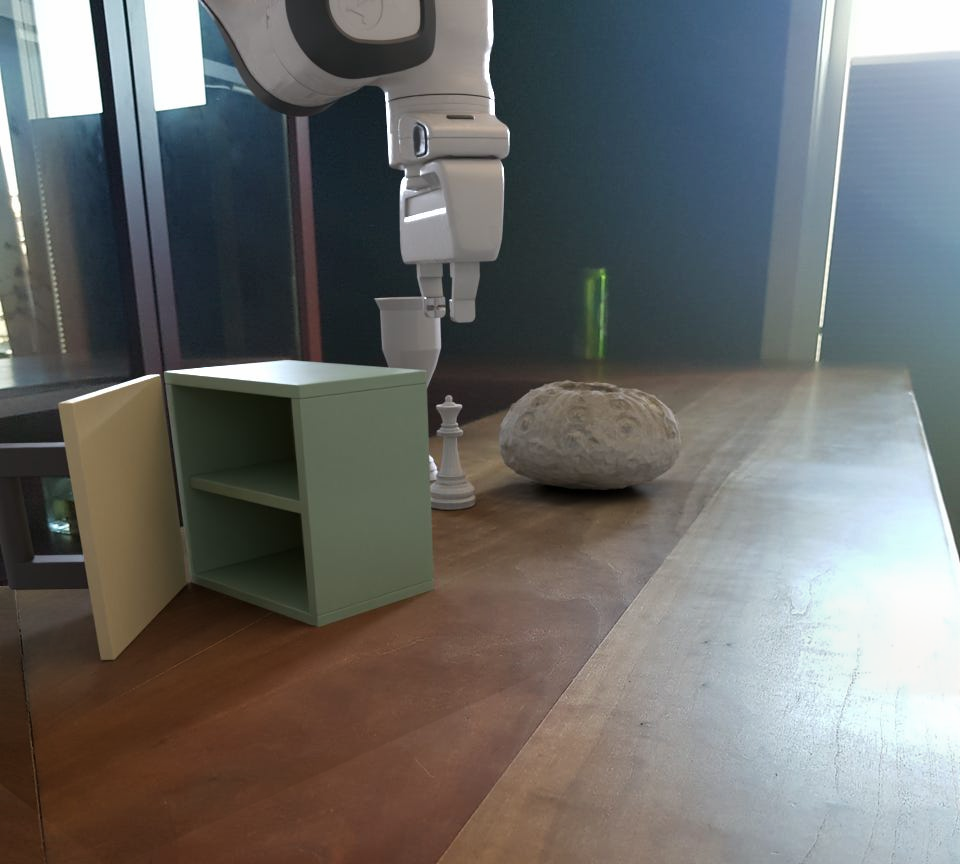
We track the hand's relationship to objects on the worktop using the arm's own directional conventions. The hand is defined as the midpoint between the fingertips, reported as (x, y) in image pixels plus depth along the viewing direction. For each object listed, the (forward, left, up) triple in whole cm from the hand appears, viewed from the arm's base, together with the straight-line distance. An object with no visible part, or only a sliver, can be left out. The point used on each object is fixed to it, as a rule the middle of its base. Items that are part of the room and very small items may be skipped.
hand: (447, 319), depth 86 cm
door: (-29, -24, -16) cm, 41 cm away
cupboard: (-16, -21, -16) cm, 31 cm away
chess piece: (0, 0, -17) cm, 17 cm away
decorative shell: (+15, +3, -17) cm, 23 cm away
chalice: (0, +14, -17) cm, 22 cm away
